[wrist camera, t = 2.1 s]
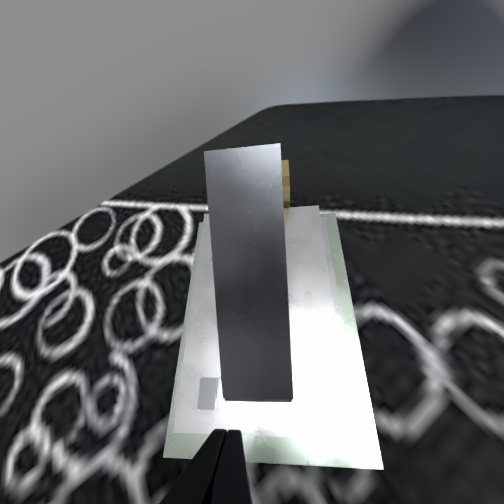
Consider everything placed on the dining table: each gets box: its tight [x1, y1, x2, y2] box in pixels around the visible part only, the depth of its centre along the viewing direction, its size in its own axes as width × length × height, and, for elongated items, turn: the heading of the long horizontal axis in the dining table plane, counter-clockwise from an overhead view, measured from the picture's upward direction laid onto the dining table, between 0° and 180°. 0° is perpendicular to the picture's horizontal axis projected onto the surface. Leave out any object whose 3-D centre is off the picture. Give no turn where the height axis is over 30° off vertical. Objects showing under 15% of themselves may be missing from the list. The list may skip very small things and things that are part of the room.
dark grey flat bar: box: [204, 143, 294, 403], centre depth 14 cm, size 14×4×1 cm
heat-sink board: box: [163, 160, 383, 469], centre depth 19 cm, size 21×15×9 cm
